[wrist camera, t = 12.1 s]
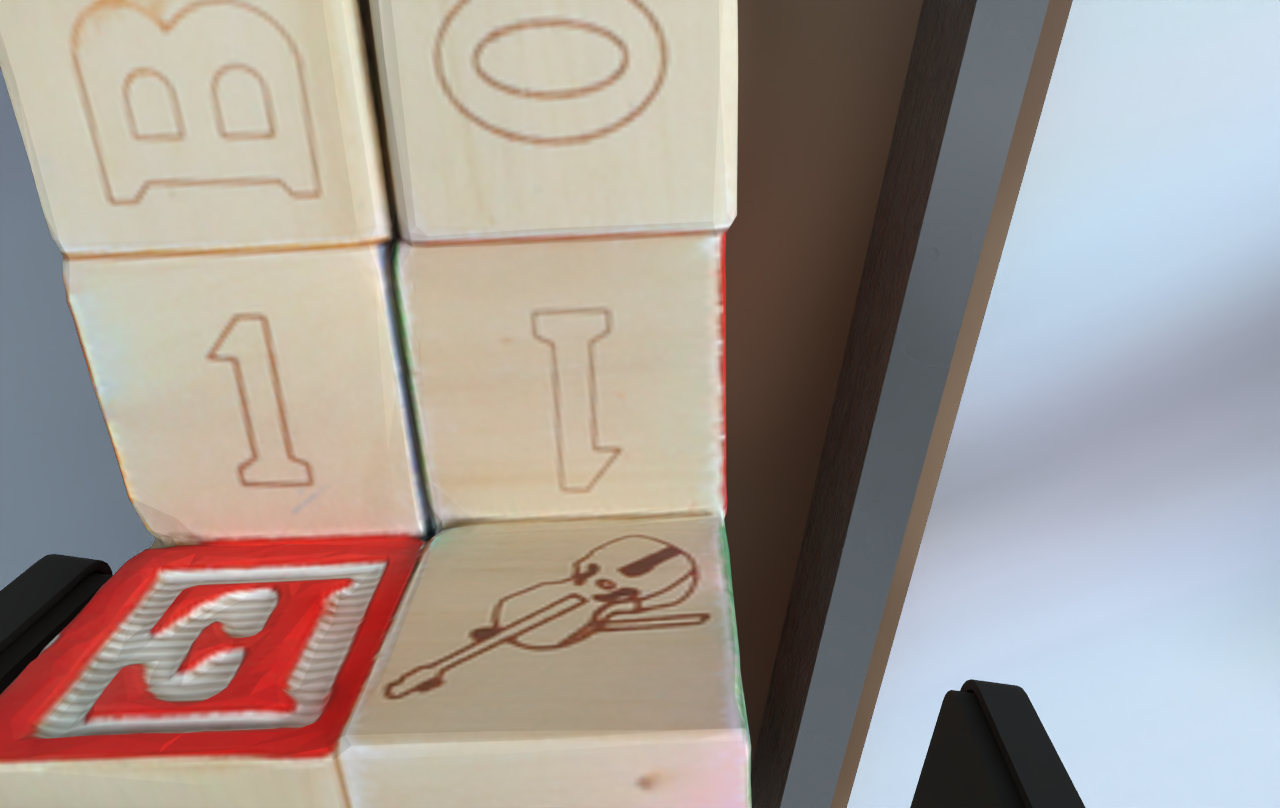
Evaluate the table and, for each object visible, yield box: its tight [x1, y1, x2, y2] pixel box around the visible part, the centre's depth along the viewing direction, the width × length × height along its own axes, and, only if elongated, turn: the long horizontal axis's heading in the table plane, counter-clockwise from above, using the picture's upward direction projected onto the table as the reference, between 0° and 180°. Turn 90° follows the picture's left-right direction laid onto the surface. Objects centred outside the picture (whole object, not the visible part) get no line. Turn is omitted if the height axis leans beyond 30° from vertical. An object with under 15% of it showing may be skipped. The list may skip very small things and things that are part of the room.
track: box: [724, 0, 1073, 808], centre depth 18 cm, size 16×28×4 cm, turn 173°
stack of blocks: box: [0, 0, 752, 808], centre depth 13 cm, size 21×6×12 cm, turn 2°
